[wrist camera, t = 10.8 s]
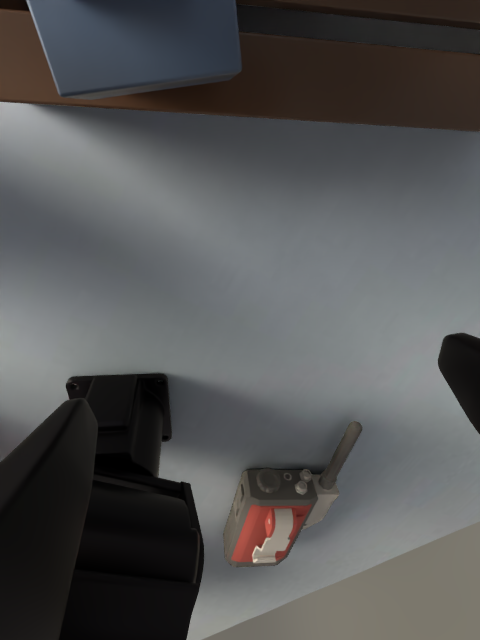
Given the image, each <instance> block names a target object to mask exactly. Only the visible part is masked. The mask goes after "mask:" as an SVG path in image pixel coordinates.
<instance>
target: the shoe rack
mask: <svg viewBox="0 0 480 640" xmlns="http://www.w3.org/2000/svg"><path fill="white" fill-rule="evenodd" d="M236 4H241V5H250V6H260V7H269V8H279V9H288V10H297V11H307V12H316V13H326V14H335V15H345V16H354V17H363V18H373V19H382V20H392V21H401V22H410V23H420V24H429V25H439V26H448V27H458V28H467V29H476V30H480V0H236ZM239 40H240V50H241V61H242V70H241V72H240V73H238V74H237V75H236V76H234V77H233V78H232V79H230V80H228V81H221V82H214V83H207V84H200V85H193V86H185V87H178V88H171V89H164V90H157V91H150V92H143V93H136V94H129V95H122V96H115V97H108V98H101V99H94V100H86V99H75V98H64V97H61V96H60V95H59V94H58V91H57V88H56V85H55V82H54V79H53V76H52V74H51V71H50V68H49V65H48V62H47V59H46V56H45V53H44V50H43V47H42V44H41V41H40V39H39V36H38V33H37V30H36V27H35V24H34V21H33V18H32V15H31V12H30V9H29V6H28V4H27V1H26V0H0V102H12V103H28V104H44V105H60V106H76V107H92V108H108V109H124V110H140V111H156V112H172V113H188V114H204V115H220V116H236V117H252V118H269V119H285V120H301V121H317V122H333V123H349V124H365V125H381V126H397V127H413V128H429V129H445V130H461V131H477V132H480V54H472V53H462V52H451V51H441V50H430V49H420V48H409V47H399V46H389V45H378V44H368V43H357V42H347V41H336V40H326V39H315V38H305V37H295V36H284V35H274V34H263V33H253V32H242V31H239Z"/></svg>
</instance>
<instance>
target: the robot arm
mask: <svg viewBox="0 0 480 640" xmlns="http://www.w3.org/2000/svg"><path fill="white" fill-rule="evenodd" d="M438 366H439V369H440V371H441V373H442V375H443V376H444V378H445V380H446V381H447V383H448V385H449V386H450V388H451V390H452V392H453V393H454V395H455V397H456V398H457V400H458V402H459V403H460V405H461V407H462V409H463V410H464V412H465V414H466V415H467V417H468V418H469V420H470V422H471V423H472V424H473V426H474V427H475V429H476V430H477V432H478V433H479V434H480V338H477V337H474V336H472V335H469V334H466V333H456V334H450V335H447V336H445V338H444V339H443V342H442V346H441V350H440V354H439V358H438ZM158 380H162V382H159V381H158ZM74 384H77V385H74ZM66 389H67V392H68V396H69V399H70V400H67V401H65V402H64V403H63V404H62V405H60V406H59V407H58V408H57V409H56V410H55V411H54V412H53V413H52V414H51V415H50V416H49V417H48V418H47V419H46V420H45V421H44V422H43V423H41V424H40V425H39V426H38V427H37V428H36V429H35V430H34V431H33V432H32V433H31V434H30V435H29V436H28V437H27V438H26V439H25V440H23V441H22V442H21V443H20V444H19V445H18V446H17V447H16V448H15V449H14V450H13V451H12V452H11V453H10V454H9V455H8V456H7V457H6V458H4V459H3V460H2V461H1V462H0V640H186V638H187V634H188V629H189V624H190V619H191V615H192V611H193V608H194V605H195V602H196V599H197V595H198V592H199V587H200V583H201V579H202V572H203V564H204V545H203V538H202V534H201V529H200V525H199V521H198V516H197V512H196V507H195V503H194V499H193V494H192V490H191V485H190V483H186V482H182V481H181V482H180V483H179V482H175V481H170V480H166V479H162V478H158V475H159V464H160V453H161V442H166V441H169V440H170V439H171V437H172V428H171V414H170V401H169V388H168V378H167V376H166V375H164V374H160V373H158V374H131V375H104V376H76V377H71V378H69V379H68V381H67V383H66Z"/></svg>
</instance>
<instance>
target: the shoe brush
mask: <svg viewBox="0 0 480 640" xmlns="http://www.w3.org/2000/svg"><path fill="white" fill-rule="evenodd" d="M26 1H27V4H28V6H29V9H30V12H31V15H32V18H33V21H34V24H35V27H36V30H37V33H38V36H39V39H40V41H41V44H42V47H43V50H44V53H45V56H46V59H47V62H48V65H49V68H50V71H51V74H52V76H53V79H54V82H55V85H56V88H57V91H58V94H59V95H60V96H61V97H64V98H75V99H86V100H94V99H101V98H108V97H115V96H122V95H129V94H136V93H143V92H150V91H157V90H164V89H171V88H178V87H185V86H193V85H200V84H207V83H214V82H221V81H228V80H230V79H232V78H233V77H234V76H236V75H237V74H238V73H240V72H241V70H242V61H241V50H240V40H239V29H238V19H237V8H236V0H26Z"/></svg>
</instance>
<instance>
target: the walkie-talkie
mask: <svg viewBox="0 0 480 640" xmlns="http://www.w3.org/2000/svg"><path fill="white" fill-rule="evenodd" d="M361 431H362V425H361V424H360V423H359V422H357V421H352V422H351V423H350V424H349V426H348V428H347V430H346V432H345V434H344V436H343V437H342V439H341V441H340V443H339V445H338V447H337V449H336V451H335V453H334V455H333V457H332V459H331V461H330V463H329V465H328V467H327V469H326V470H324V471H323V472H322V474H321V475H311V472H310V471H309V470H308V469H304V470H272V469H270V468H265V469H249V470H246V471H245V472H243V473H242V476H241V479H240V482H239V485H238V489H237V492H236V495H235V498H234V503H233V504H232V505H233V506H232V507H231V508H232V509H231V512H230V515H229V518H228V521H227V524H226V527H225V530H224V533H223V539H224V553H225V560H226V561H227V562H228V563H229V564H230V565H232V566H233V567H254V566H275V565H278V564H279V563H280V562H281V561H283V560H284V559H285V558H287V556H288V555H289V552H290V550H291V549H292V547H293V544H294V543H295V541H296V539H297V538H298V535H299V533H300V532H301V530H302V529H306V528H308V527H310V526H312V525H314V524H315V523H317V522H319V521H321V520H322V519H323V518H324V517H325V515H326V513H327V511H328V510H329V508H330V506H331V505H332V503H333V501H334V500H336V499H337V497H338V495H339V491H338V488H337V485H336V483H335V482H336V480H337V475H338V473H339V472H340V470H341V468H342V466H343V464H344V462H345V461H346V459H347V457H348V455H349V453H350V451H351V450H352V448H353V446H354V444H355V442H356V441H357V439H358V437H359V435H360V433H361Z"/></svg>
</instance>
